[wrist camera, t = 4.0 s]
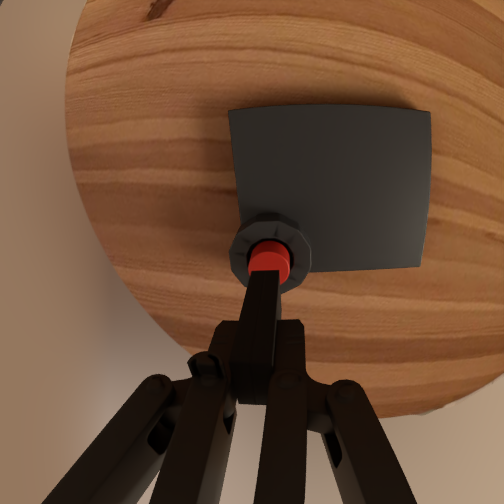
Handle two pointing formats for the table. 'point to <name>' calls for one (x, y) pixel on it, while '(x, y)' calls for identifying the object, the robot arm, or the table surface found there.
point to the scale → (331, 186)
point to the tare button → (270, 259)
